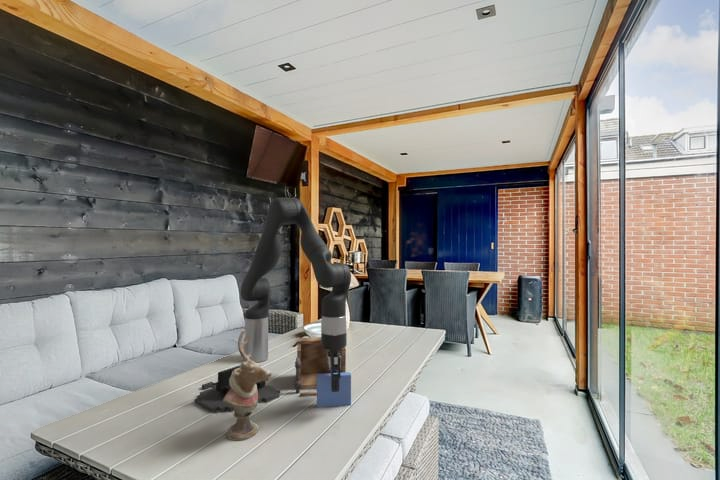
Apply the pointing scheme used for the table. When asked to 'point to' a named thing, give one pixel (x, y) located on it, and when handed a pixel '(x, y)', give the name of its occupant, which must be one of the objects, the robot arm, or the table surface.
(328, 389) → the blue rectangular block
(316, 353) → the cabinet
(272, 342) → the table surface
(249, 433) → the decorative bust
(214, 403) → the abstract sculpture
